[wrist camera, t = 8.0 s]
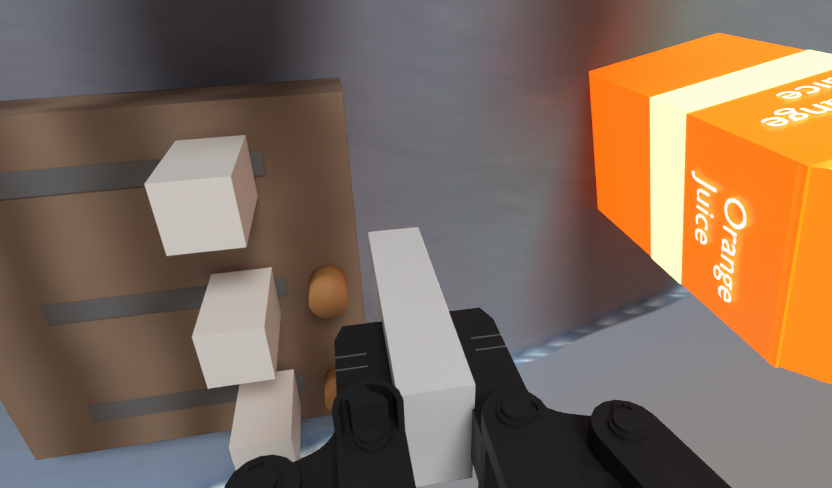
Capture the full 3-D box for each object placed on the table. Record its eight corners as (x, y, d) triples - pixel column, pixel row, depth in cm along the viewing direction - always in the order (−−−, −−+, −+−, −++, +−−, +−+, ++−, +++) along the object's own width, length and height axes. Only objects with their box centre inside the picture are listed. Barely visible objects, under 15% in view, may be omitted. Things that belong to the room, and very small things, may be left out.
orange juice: (596, 210, 33) (910, 496, 16) (586, 70, 28) (1013, 255, 11) (713, 174, 33) (1150, 417, 16) (722, 30, 28) (1348, 150, 11)
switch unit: (57, 420, 33) (19, 490, 29) (-108, 108, 23) (-201, 143, 19) (369, 375, 36) (377, 432, 32) (339, 77, 26) (344, 102, 22)
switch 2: (223, 321, 28) (207, 388, 24) (211, 274, 26) (191, 336, 22) (280, 314, 28) (275, 378, 24) (271, 267, 27) (264, 327, 23)
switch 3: (250, 413, 31) (240, 487, 27) (240, 376, 30) (228, 448, 26) (301, 406, 32) (299, 477, 27) (293, 369, 30) (291, 438, 26)
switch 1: (191, 202, 24) (166, 255, 20) (175, 140, 23) (144, 184, 19) (257, 196, 25) (246, 247, 21) (245, 134, 23) (230, 176, 19)
